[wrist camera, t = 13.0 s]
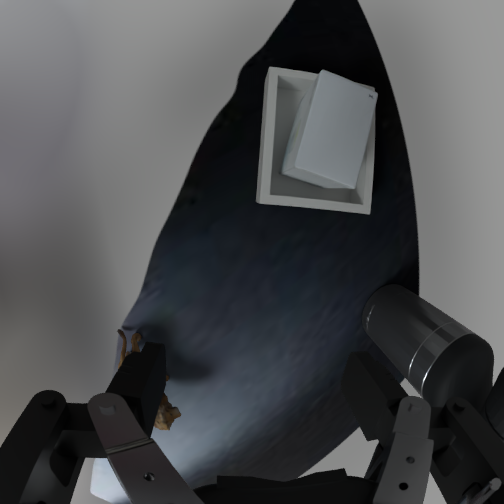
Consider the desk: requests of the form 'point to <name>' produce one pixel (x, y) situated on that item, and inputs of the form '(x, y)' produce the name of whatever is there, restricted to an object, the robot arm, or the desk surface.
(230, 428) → the desk surface
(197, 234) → the desk surface
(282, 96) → the tray
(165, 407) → the lion figurine
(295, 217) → the desk surface
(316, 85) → the skincare box
